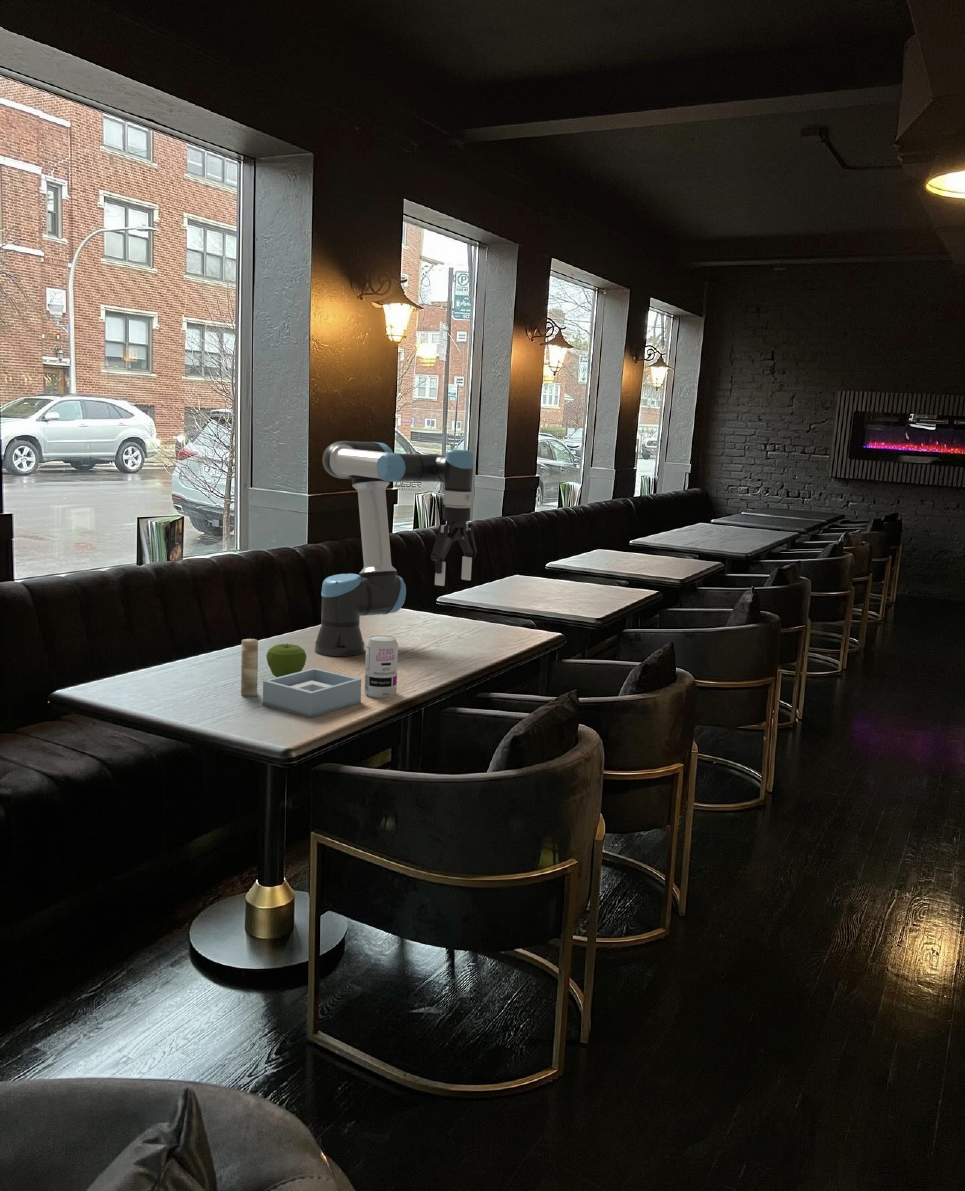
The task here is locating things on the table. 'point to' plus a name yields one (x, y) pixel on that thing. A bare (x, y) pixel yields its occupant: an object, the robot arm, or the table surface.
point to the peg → (249, 667)
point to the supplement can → (381, 666)
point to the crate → (311, 692)
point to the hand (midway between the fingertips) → (453, 582)
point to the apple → (286, 659)
